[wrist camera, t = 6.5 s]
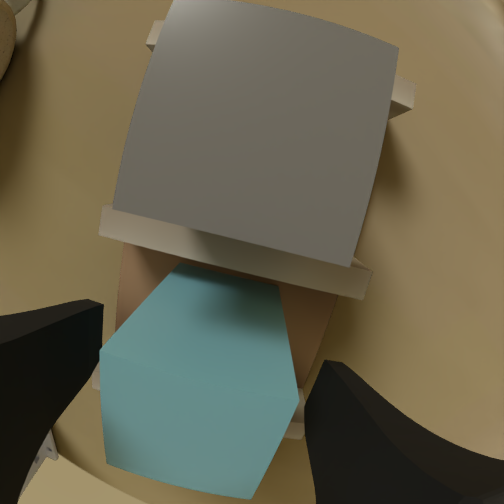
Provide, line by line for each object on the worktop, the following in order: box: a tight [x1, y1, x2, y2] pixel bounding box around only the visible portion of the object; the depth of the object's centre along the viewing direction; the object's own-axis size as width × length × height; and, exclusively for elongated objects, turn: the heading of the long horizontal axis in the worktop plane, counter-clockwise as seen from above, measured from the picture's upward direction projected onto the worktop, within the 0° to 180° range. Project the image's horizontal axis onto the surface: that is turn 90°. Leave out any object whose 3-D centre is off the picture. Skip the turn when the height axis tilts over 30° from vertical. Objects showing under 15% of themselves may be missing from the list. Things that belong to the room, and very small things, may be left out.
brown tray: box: [92, 20, 416, 440], centre depth 11 cm, size 14×9×3 cm, turn 166°
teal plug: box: [100, 262, 300, 500], centre depth 9 cm, size 4×4×7 cm
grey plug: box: [112, 0, 399, 268], centre depth 8 cm, size 4×4×7 cm
